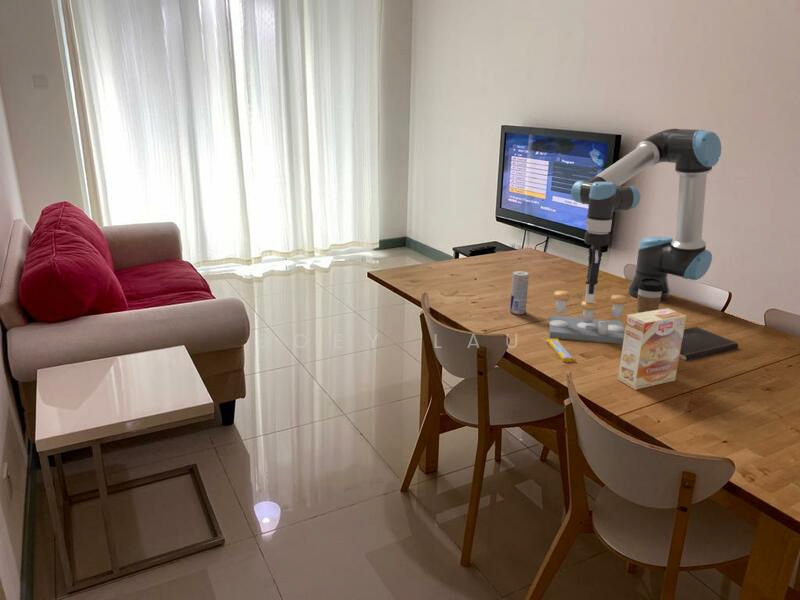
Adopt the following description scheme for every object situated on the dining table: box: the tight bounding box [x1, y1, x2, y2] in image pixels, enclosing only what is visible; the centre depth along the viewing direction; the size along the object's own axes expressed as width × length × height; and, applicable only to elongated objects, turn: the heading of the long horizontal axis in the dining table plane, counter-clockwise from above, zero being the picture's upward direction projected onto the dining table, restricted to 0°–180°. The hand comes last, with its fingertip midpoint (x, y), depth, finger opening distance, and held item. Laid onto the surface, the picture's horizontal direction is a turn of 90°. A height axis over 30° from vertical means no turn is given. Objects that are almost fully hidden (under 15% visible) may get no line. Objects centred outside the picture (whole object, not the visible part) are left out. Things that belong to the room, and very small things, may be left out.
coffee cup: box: [636, 278, 664, 313], centre depth 213 cm, size 8×8×15 cm
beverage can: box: [509, 270, 529, 315], centre depth 221 cm, size 6×6×15 cm
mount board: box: [548, 314, 625, 345], centre depth 205 cm, size 24×16×2 cm, turn 78°
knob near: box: [610, 294, 628, 319], centre depth 201 cm, size 5×5×7 cm
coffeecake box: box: [617, 307, 687, 391], centre depth 168 cm, size 15×7×20 cm, turn 114°
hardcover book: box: [679, 326, 739, 362], centre depth 195 cm, size 16×23×2 cm
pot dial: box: [598, 321, 608, 336], centre depth 198 cm, size 3×3×4 cm
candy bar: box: [545, 338, 577, 363], centre depth 189 cm, size 17×4×2 cm, turn 6°
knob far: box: [553, 290, 571, 314], centre depth 204 cm, size 5×5×7 cm
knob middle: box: [580, 300, 598, 323], centre depth 203 cm, size 5×5×7 cm
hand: (589, 302), depth 202 cm, fingers closed
